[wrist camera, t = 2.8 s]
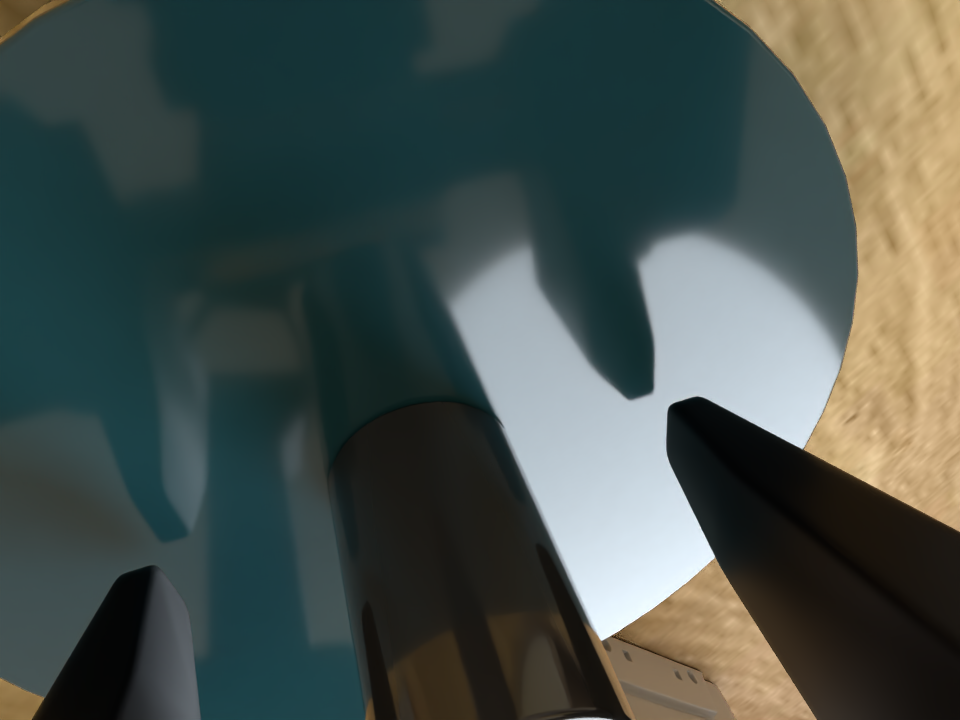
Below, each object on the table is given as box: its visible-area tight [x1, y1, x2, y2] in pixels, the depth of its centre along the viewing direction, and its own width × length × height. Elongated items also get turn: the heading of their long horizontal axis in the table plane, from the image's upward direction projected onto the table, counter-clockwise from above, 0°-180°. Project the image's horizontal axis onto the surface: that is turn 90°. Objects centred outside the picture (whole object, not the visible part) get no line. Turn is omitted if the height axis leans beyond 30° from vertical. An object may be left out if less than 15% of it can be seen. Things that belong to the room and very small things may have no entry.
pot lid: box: [0, 0, 858, 720], centre depth 8 cm, size 12×12×5 cm
